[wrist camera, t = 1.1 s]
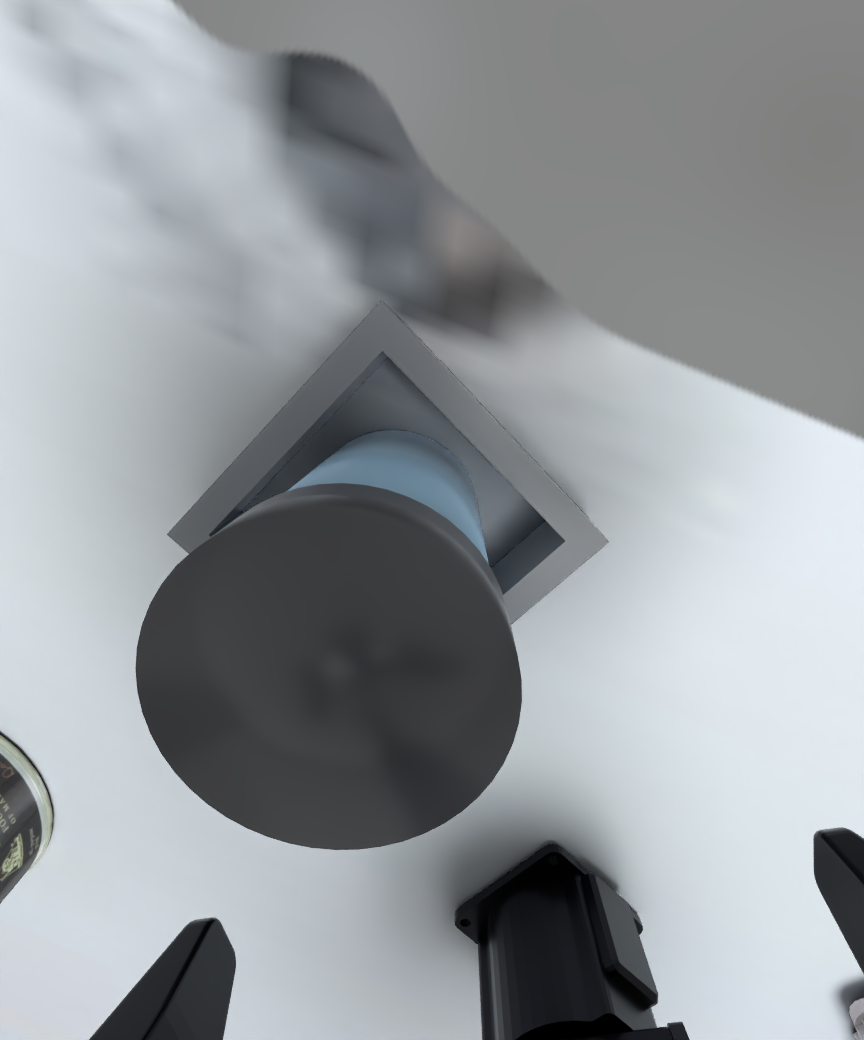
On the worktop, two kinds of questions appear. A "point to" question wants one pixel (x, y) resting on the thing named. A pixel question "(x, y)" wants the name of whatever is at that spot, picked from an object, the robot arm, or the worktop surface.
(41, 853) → the coffee can
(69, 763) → the worktop surface
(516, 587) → the cartridge housing
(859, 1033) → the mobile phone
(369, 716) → the blue-grey upright cylinder
